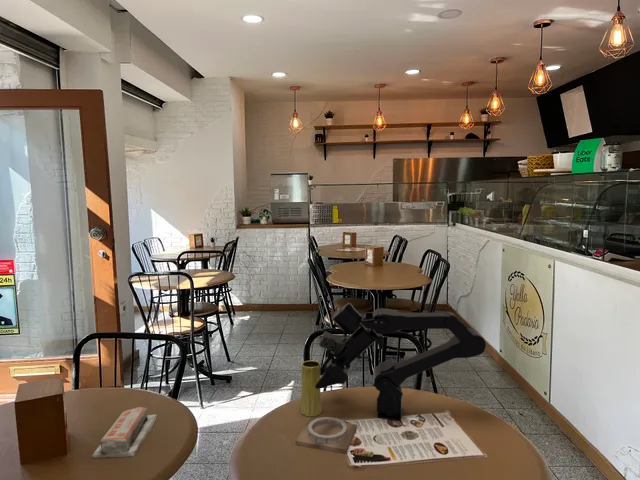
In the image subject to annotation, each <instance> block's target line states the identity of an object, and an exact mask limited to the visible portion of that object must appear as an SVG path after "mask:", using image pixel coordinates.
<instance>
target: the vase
mask: <svg viewBox="0 0 640 480" xmlns="http://www.w3.org/2000/svg"><path fill="white" fill-rule="evenodd" d="M320 368H321V363H320V362H319V361H317V360H311V359H309V360H305V361H303V362H302V363H301V398H300V399H301V400H300V401H301V407H300V412H301V414H302V415H303V416H306V417H318V416H320V415H321V414H322V412H323V409H322V408H323V407H322V396H321V388H320V389H317V388H316V387H315V385H316V384H317V382H318V381H319V380H320V378H321V375H320Z"/></svg>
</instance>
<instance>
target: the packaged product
mask: <svg viewBox="0 0 640 480" xmlns="http://www.w3.org/2000/svg"><path fill="white" fill-rule="evenodd" d="M156 420H157V414H148V408H147V407H142V406H136V407H134V408H129V409H127V410H124V411H122V412H121V414H119V417H118V418H117V419H116V420H115V421H114V422H113V424H112V425H111V426H110V428H109V430H108V431H106V432H105V435H104V436H103V437H102V438H101V439H100V441H99V443H100V445H99V446H98V447H97V449H96V450H94V452H93V453H92V455H91V457H92V458H93V459H94V458H95V459H98V458H99V459H101V458H102V459H103V458H122V457H124V458H125V457H134V456H136V453H137V452H138V450H139V448H140V447H141V446H142V444H143V443H144V441H145V439H146V438H147V436H148V434H149V433H150V431H151V430H152V427H154V424H155V423H156Z"/></svg>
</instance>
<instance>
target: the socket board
mask: <svg viewBox="0 0 640 480" xmlns="http://www.w3.org/2000/svg"><path fill="white" fill-rule="evenodd" d="M357 429H358V424H357V423H356V424H355V423H350V422H345V421H343V420H341V418H337V417H331V416H324V417H323V416H322V417H313V416H310V417H309V418H308V421H307V423H306V425H304V427H303V429H302V430H301V432H300V433H299V435H298V437H296V440H295V445H296V446H301V447H308V448H313V449H318V450H323V451H330V452H334V453H339V454H340V453H341V454H347V453H348V451H349V448H350V446H351V443H352V441H353V438H354V436H355V433H356V431H357Z"/></svg>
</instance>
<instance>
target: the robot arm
mask: <svg viewBox="0 0 640 480" xmlns="http://www.w3.org/2000/svg"><path fill="white" fill-rule="evenodd" d="M330 319H331V320H332V321H333V322H334V323H335V324H336V325H337V326H338V327H339V328H340V329H341V330H342V332H344V333H345V334H347V333H348V334H350V335H349V336H344V337H343V338H340V337H338V336H337V335H335V334H332V333H331V332H328V331H326V330H325V331H324V332H323V334H322V335H321V338H320V340H319V344H318V345H319V346H320V347H321V348H323V349H326V350H327V357H326V359H325V360H324V362H323V363H322V365H320V380H319V381H318V382H317V384H316V385H315V387H316V388H317V389H320V390H321V389H323V388H327V387H329V386H333V385H344V384H345V383H346V382H347V381H348V380H349V379H348V378H349V371H348V369H350V368H351V367H352V363H353V362H355V360H357V359H358V360H359V359H361V358H362V354H363V353H364V352H366V350H367V349H368V348H370V346H372V345H373V344H374V343H376V344H377V345H378V346H380V347H383V346H382V345H383V337H384V336H383V335H386V334H391V333H392V334H393V333H396V332H400V331H401V330H402V331H403V330H412V329H413V330H414V329H415V330H417V329H418V330H424V329H425V330H428V329H431V330H435V329H439V330H442V329H446V330H449V331H450V332H451V333H452V334H453V336H452V337H451V338H450V339H449V340H448V341H447V342H445V343H443V344H440V345H437V346H436V347H434V348H433V347H432V348H431V349H429V350H426V351H423V352H421V353H418V354H416V355H414V356H412V357H409V358H407V359H404V360H402V361H394V360H393V357H390V358H388V359H386V360H385V361H379V362H378V365H376V366H375V367H374V370H373V374H372V375H373V376H372V377H373V384H374V387H375V389H376V390H377V391H378V392H379V393H378V395H377V398H376V413H377V418H379V419H385V420H392V421H398V422H399V421H401V420H402V417H403V412H404V408H403V390H402V384H403V383H405V381H406V380H407V379H408V378H412V377H413V376H415V375H418V374H420V373H423V372H425V371H428V370H430V369H432V368H435V367H437V366H439V365H442V364H445V363H446V362H447V363H448V362H449V361H452V360H454V359H468V358H473V357H478V356H480V355H482V354H484V352H485V349H486V348H487V347H486V346H487V343H486V340H485V339H484V338H483V337H482V335H481V334H480V333H479V332H478V331H477V330H476V329H475V328H472V327H468V326H466V324H465V323H463V321H462V320H460V319H459V318H457V316H456V314H454V312H452V311H446V312H445V311H444V312H401V311H397V310H394V309H388V308H383V307H382V308H379V307H378V308H376V309H375V310H373V311H371V312H368V311H367V312H361V313H360V312H359V311H358V310H357V309H356V308H355V307H354V305H353V304H352V303H351V302H350V301H348V302H347V303H346V304H344V305H342V307H339V308H338V309H336V311H335V312H334V314H333V315H332V316H331V318H330ZM321 375H322V376H321Z"/></svg>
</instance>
